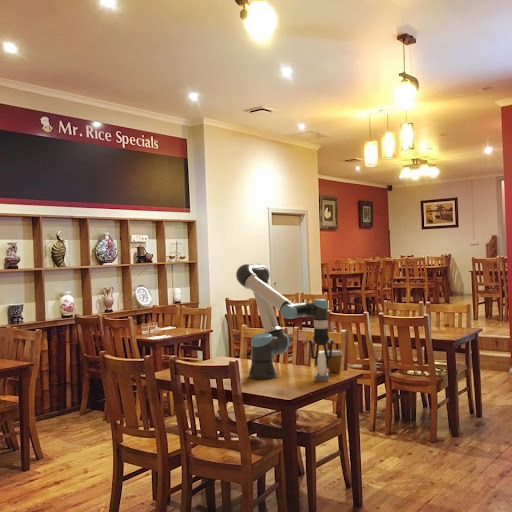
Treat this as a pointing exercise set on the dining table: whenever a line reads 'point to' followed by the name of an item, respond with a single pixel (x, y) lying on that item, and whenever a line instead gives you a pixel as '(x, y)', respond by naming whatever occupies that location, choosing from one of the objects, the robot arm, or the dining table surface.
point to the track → (322, 377)
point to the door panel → (321, 363)
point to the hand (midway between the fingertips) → (322, 371)
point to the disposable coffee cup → (335, 360)
